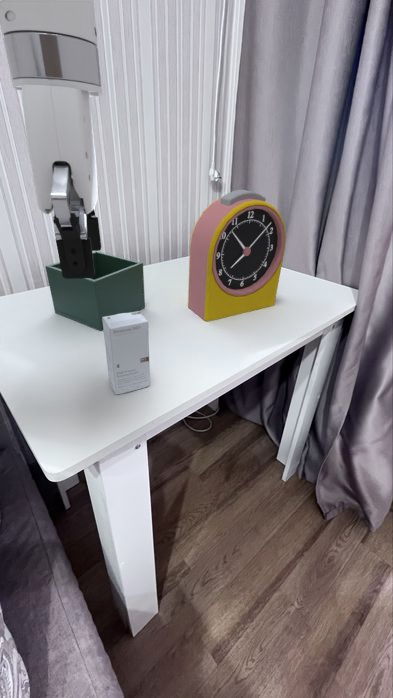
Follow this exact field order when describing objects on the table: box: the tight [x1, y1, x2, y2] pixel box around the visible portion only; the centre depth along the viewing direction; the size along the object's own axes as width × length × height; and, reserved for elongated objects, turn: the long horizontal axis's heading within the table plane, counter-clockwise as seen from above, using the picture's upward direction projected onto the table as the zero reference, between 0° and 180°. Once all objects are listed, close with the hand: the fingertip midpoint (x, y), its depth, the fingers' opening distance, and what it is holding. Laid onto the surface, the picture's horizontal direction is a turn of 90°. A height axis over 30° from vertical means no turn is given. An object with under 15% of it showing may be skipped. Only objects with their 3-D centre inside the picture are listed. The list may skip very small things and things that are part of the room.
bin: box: [45, 251, 146, 332], centre depth 75 cm, size 15×15×11 cm
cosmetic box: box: [102, 310, 151, 395], centre depth 52 cm, size 6×4×12 cm
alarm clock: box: [187, 189, 287, 322], centre depth 76 cm, size 21×9×26 cm, turn 120°
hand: (84, 262), depth 38 cm, fingers open, 9 cm apart
